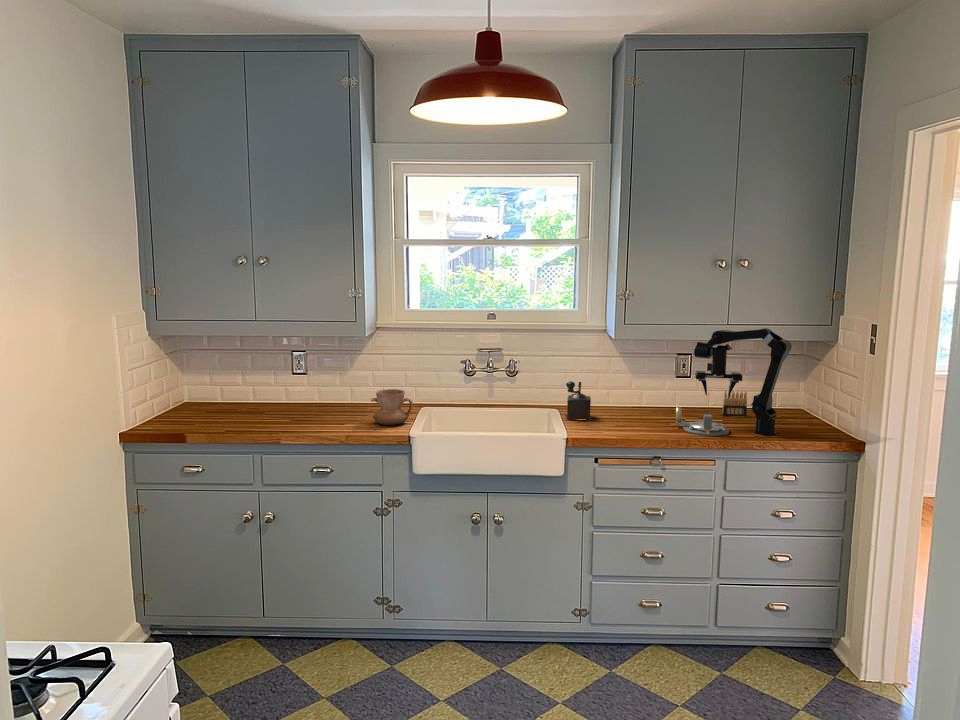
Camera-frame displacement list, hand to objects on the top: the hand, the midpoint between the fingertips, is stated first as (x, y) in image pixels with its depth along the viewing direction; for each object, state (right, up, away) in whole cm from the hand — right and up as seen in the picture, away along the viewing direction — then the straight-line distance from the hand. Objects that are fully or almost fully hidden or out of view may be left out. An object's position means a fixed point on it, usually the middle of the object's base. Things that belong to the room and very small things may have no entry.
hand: (717, 395), depth 297 cm
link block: (-8, -12, -13) cm, 20 cm away
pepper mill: (-58, -11, +13) cm, 60 cm away
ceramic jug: (-140, -12, +3) cm, 140 cm away
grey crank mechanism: (-10, -13, -7) cm, 17 cm away
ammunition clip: (+15, -11, +20) cm, 27 cm away
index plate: (-7, -14, -8) cm, 18 cm away
